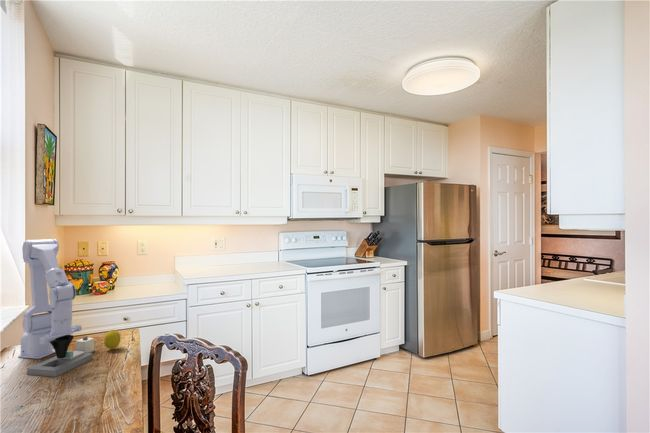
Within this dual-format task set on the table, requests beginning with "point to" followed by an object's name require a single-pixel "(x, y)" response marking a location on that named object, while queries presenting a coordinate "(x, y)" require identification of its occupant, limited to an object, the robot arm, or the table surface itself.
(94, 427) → the table surface
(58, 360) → the socket plate
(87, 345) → the plug
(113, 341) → the lemon
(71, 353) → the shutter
